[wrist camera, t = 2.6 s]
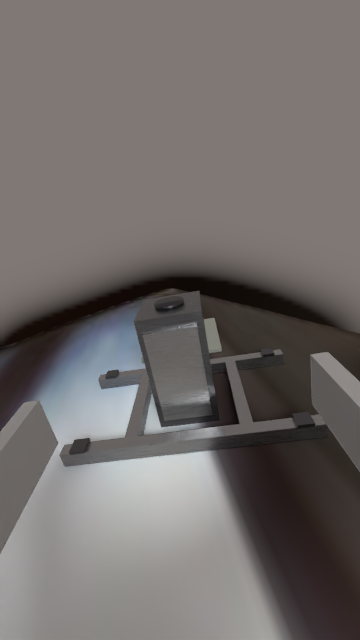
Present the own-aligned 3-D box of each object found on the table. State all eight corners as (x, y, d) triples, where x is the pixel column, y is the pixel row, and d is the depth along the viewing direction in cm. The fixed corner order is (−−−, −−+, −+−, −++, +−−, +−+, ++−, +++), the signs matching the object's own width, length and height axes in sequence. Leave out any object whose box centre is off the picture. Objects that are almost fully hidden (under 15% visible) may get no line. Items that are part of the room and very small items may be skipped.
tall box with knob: (161, 430, 24) (131, 320, 20) (166, 389, 29) (143, 295, 25) (219, 423, 23) (201, 308, 19) (213, 382, 29) (198, 286, 25)
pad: (142, 362, 35) (141, 360, 35) (151, 329, 44) (151, 327, 44) (221, 351, 34) (221, 348, 34) (214, 320, 43) (214, 317, 43)
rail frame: (64, 467, 22) (57, 453, 21) (104, 383, 32) (100, 372, 32) (328, 437, 20) (328, 421, 19) (280, 358, 30) (279, 346, 30)
